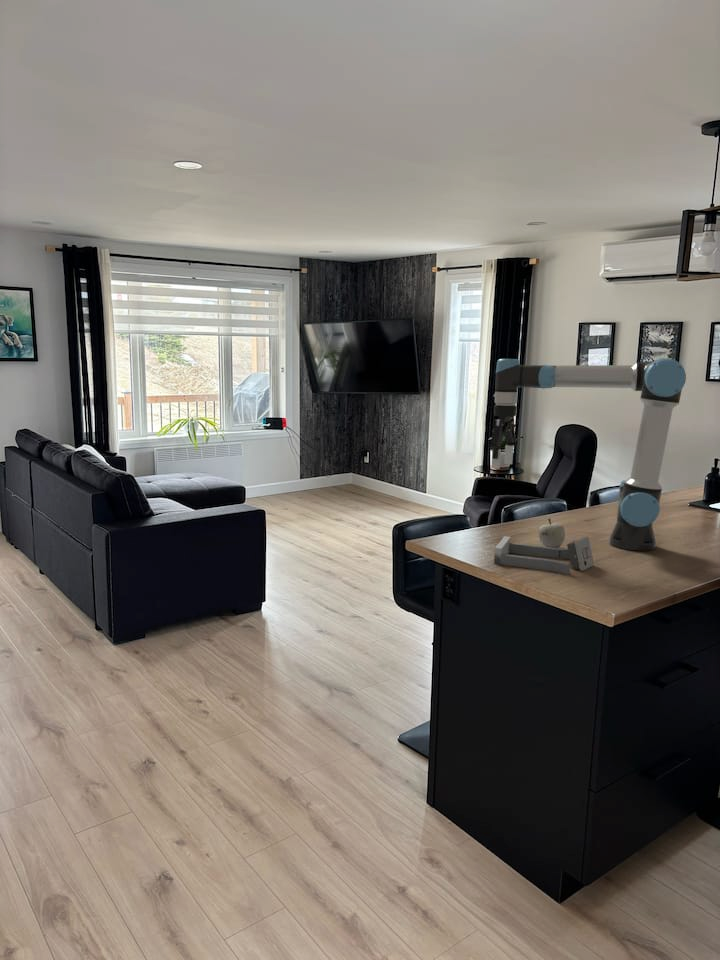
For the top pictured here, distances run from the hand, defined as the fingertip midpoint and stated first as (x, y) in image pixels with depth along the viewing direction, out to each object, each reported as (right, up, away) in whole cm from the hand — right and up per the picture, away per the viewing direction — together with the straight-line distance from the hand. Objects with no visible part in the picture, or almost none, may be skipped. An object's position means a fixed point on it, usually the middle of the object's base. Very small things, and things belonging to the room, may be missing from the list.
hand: (502, 466), depth 244 cm
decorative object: (+16, -28, -3) cm, 33 cm away
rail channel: (+6, -31, -21) cm, 38 cm away
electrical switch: (+19, -32, -26) cm, 45 cm away
